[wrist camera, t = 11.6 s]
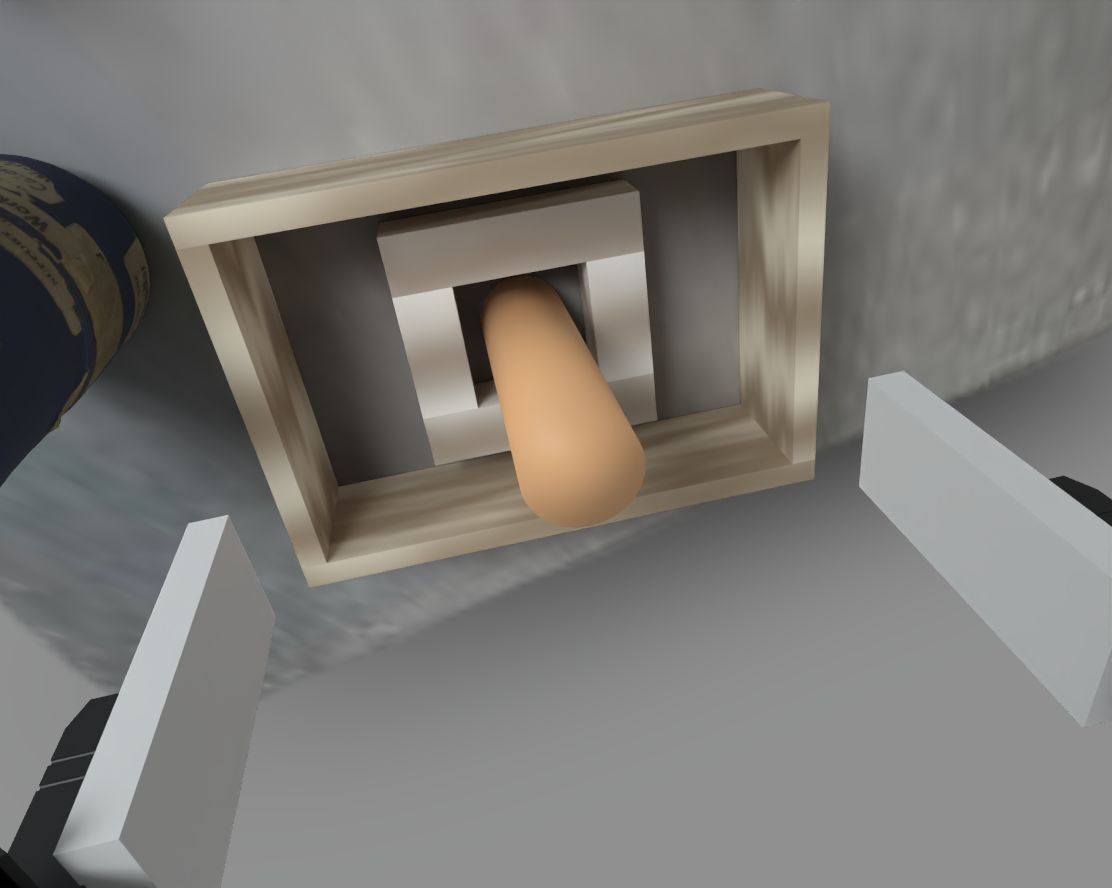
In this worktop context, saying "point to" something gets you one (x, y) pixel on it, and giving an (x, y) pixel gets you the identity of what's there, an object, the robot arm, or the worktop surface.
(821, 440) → the worktop surface
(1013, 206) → the worktop surface
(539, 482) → the peg
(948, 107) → the worktop surface
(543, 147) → the open box
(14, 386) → the canister
